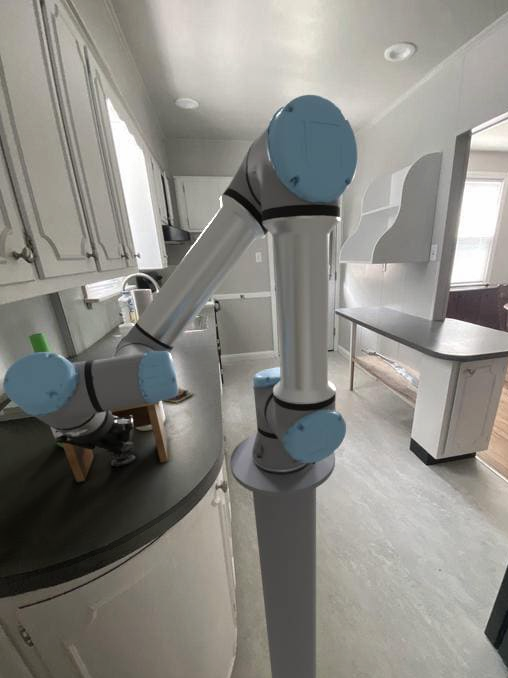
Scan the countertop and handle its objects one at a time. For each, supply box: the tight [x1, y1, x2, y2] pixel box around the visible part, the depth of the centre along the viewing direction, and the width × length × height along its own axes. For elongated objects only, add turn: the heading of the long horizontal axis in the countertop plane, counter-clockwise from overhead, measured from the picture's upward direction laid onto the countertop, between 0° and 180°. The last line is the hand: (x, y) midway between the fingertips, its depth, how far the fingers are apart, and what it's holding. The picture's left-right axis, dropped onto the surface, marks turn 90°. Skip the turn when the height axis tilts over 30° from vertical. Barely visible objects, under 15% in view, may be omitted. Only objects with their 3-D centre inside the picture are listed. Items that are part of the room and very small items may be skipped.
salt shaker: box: [106, 426, 136, 467], centre depth 73 cm, size 6×6×12 cm
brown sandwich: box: [165, 387, 194, 404], centre depth 108 cm, size 11×8×4 cm
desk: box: [62, 402, 169, 483], centre depth 72 cm, size 10×21×17 cm, turn 111°
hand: (118, 447), depth 71 cm, fingers closed
